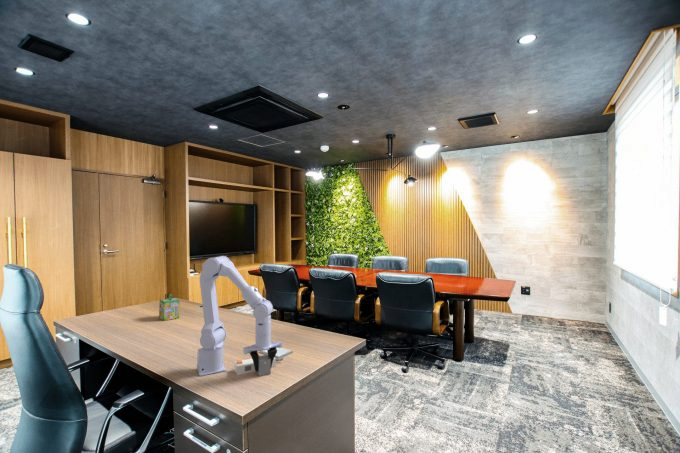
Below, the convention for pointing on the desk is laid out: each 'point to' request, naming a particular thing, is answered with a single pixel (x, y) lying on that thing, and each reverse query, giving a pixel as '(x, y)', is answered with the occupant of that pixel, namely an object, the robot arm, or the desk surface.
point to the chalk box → (169, 308)
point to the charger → (264, 365)
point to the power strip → (249, 365)
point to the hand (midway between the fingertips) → (263, 369)
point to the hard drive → (279, 352)
